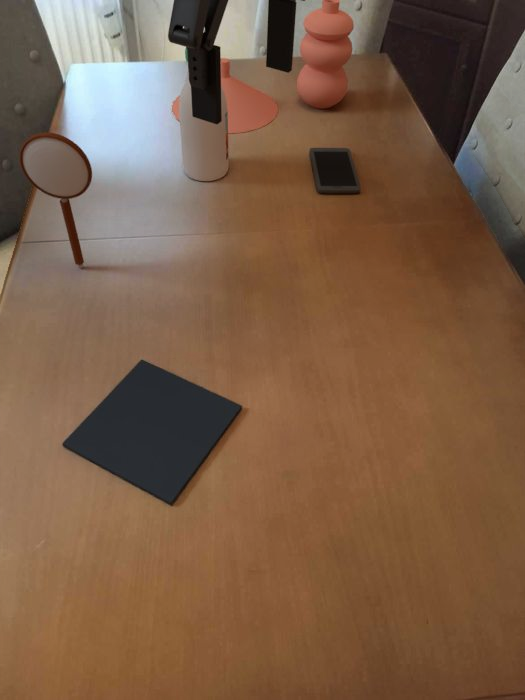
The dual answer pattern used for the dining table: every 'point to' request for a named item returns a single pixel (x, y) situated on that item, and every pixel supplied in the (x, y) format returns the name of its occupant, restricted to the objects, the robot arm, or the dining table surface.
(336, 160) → the cell phone
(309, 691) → the dining table surface
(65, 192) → the magnifying glass
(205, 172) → the milk bottle
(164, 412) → the mat
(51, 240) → the dining table surface
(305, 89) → the ceramic vessels
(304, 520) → the dining table surface
